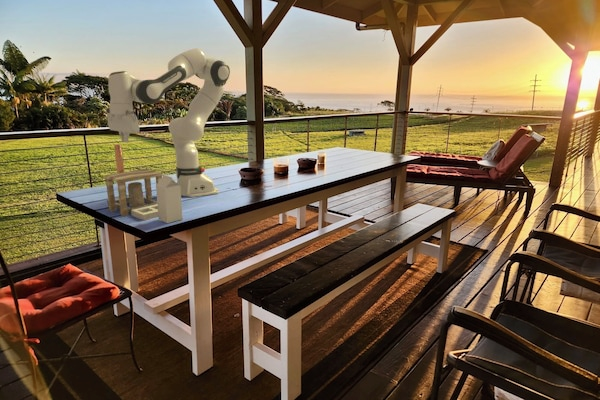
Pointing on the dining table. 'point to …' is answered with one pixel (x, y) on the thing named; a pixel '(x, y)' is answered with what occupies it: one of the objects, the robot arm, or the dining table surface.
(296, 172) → the dining table surface
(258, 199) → the dining table surface
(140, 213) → the pit deck
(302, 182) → the dining table surface
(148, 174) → the tunnel
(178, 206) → the milk carton
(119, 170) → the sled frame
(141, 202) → the carving
